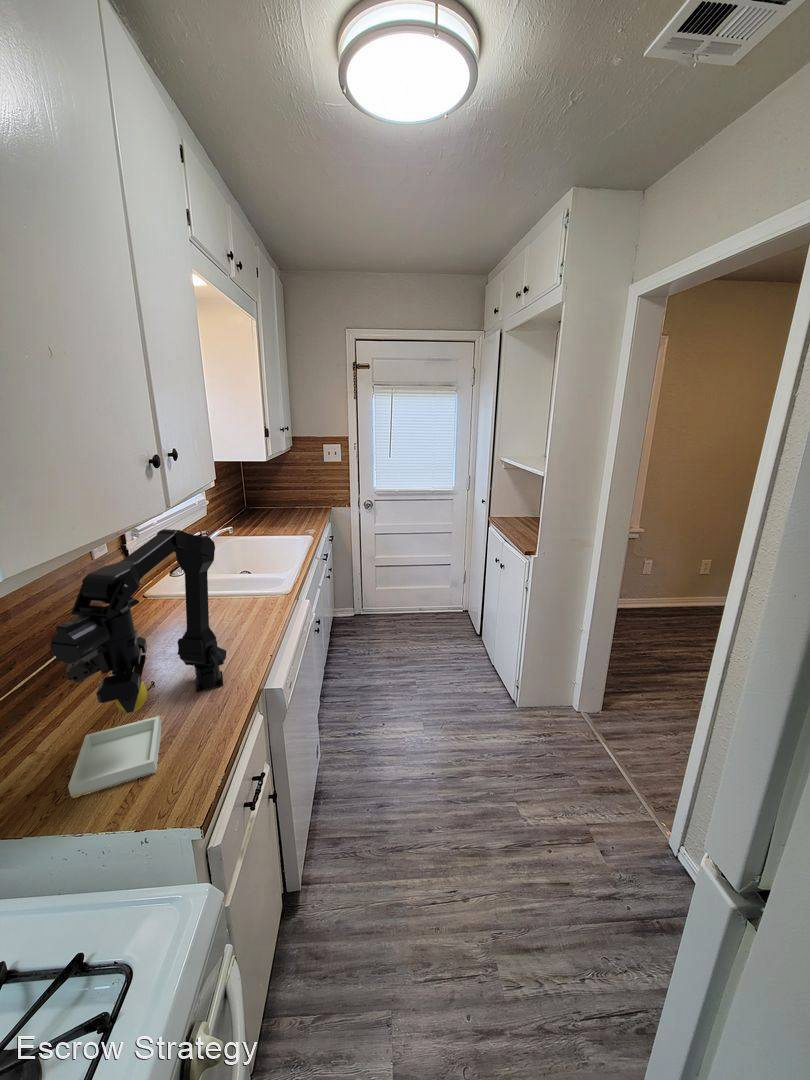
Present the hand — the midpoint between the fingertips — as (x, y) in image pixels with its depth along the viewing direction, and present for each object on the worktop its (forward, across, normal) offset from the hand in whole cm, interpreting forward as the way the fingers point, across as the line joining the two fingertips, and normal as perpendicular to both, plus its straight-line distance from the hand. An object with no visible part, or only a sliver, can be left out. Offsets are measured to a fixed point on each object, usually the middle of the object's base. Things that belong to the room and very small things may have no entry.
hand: (132, 703), depth 85 cm
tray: (+12, +1, -4) cm, 12 cm away
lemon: (+2, 0, 0) cm, 2 cm away
